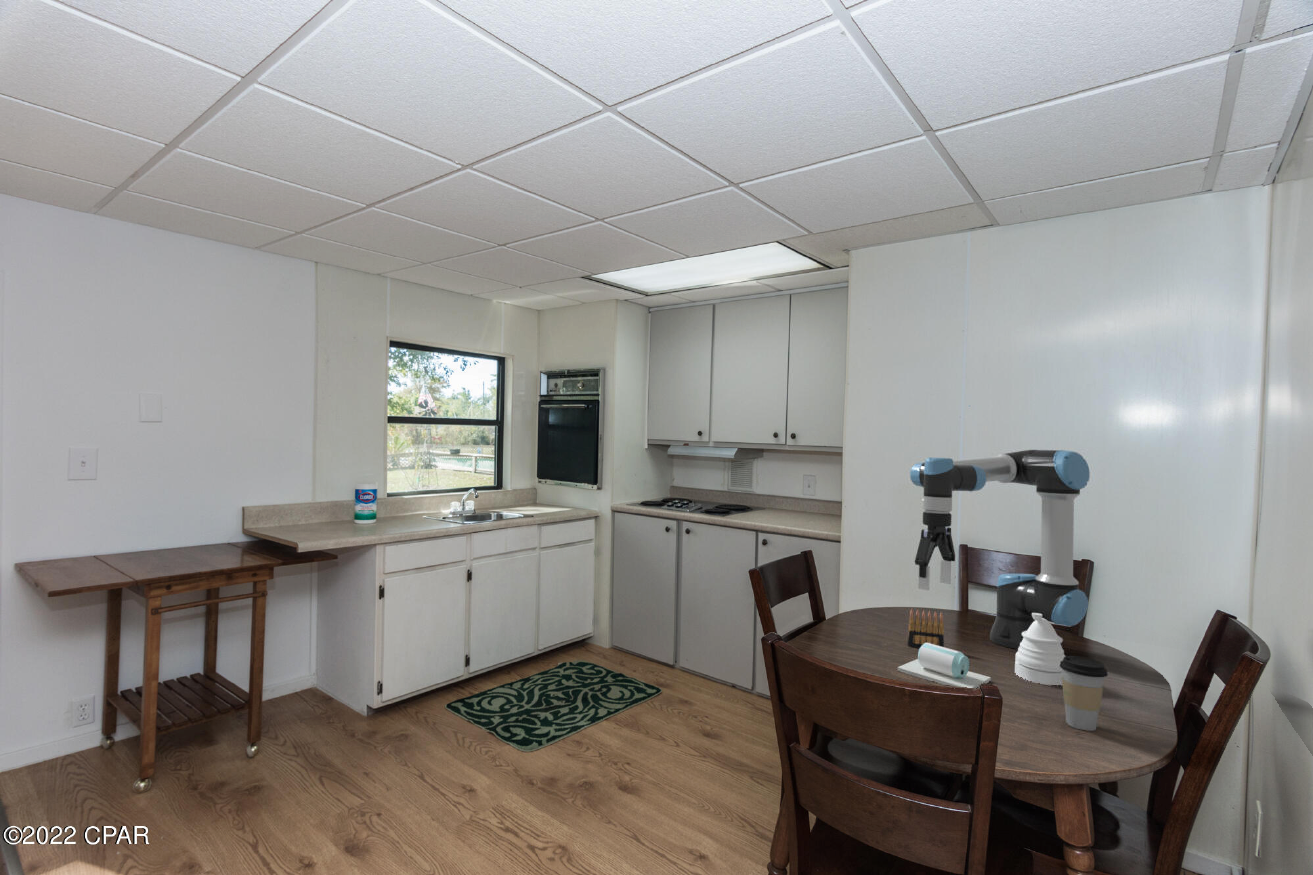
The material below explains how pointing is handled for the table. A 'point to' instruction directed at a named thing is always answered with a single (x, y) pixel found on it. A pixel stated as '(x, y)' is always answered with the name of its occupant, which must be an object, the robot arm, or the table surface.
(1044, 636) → the honey pot
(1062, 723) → the table surface
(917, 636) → the ammunition clip
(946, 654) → the can
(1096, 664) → the coffee cup
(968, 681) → the mat
